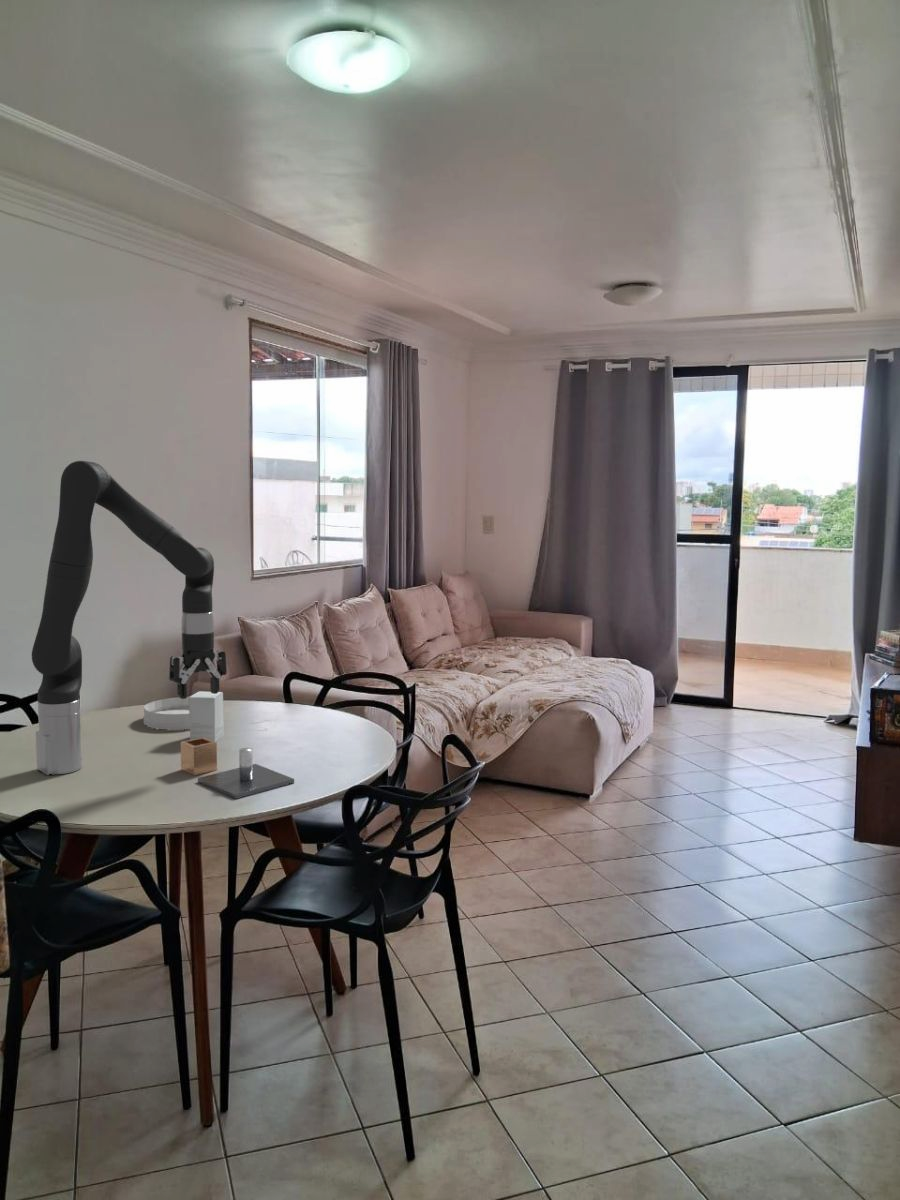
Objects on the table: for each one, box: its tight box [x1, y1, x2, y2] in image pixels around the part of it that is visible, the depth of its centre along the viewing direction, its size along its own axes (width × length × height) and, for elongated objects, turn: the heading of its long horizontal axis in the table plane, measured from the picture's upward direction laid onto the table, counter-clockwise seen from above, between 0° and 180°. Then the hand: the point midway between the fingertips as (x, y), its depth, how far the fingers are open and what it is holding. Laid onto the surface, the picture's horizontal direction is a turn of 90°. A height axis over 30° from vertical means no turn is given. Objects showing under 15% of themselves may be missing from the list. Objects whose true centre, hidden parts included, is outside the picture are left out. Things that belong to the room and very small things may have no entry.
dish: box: [143, 696, 190, 731], centre depth 259 cm, size 22×22×5 cm
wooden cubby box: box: [180, 737, 218, 776], centre depth 213 cm, size 6×6×7 cm
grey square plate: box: [197, 747, 295, 800], centre depth 204 cm, size 16×16×8 cm
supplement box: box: [188, 690, 225, 742], centre depth 240 cm, size 7×7×13 cm
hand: (198, 695), depth 212 cm, fingers open, 8 cm apart
